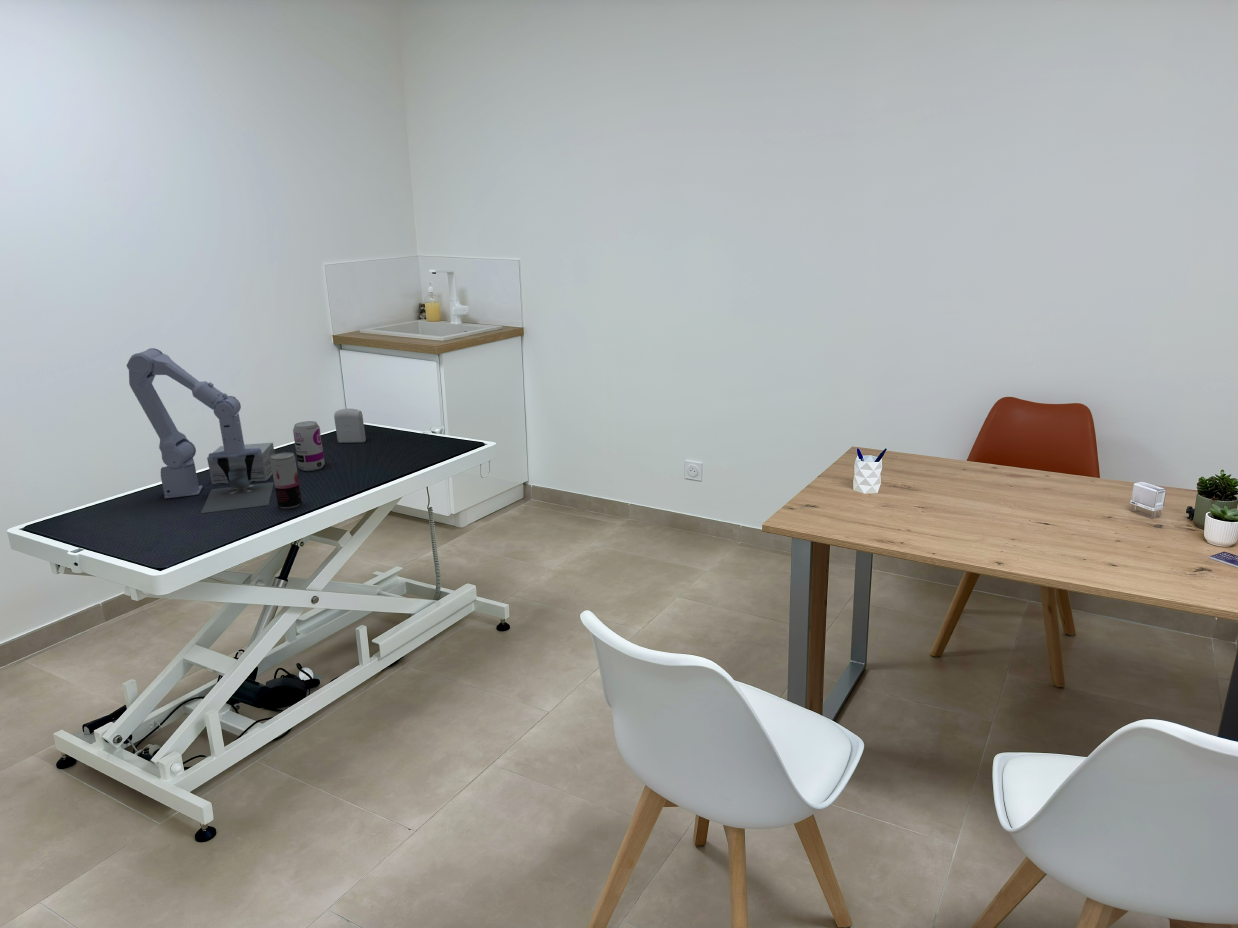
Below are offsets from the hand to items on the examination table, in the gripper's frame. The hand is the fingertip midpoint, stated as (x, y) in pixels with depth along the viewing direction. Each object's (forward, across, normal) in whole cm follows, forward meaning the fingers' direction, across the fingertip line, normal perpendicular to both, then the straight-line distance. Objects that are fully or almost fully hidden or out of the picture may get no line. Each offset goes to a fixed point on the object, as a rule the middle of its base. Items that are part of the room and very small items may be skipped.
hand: (239, 480), depth 257 cm
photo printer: (+3, +33, +44) cm, 55 cm away
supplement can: (+3, +20, +16) cm, 26 cm away
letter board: (+3, 0, -7) cm, 8 cm away
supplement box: (+4, 0, +15) cm, 15 cm away
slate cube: (+2, 0, 0) cm, 2 cm away
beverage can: (+3, +15, -20) cm, 25 cm away
